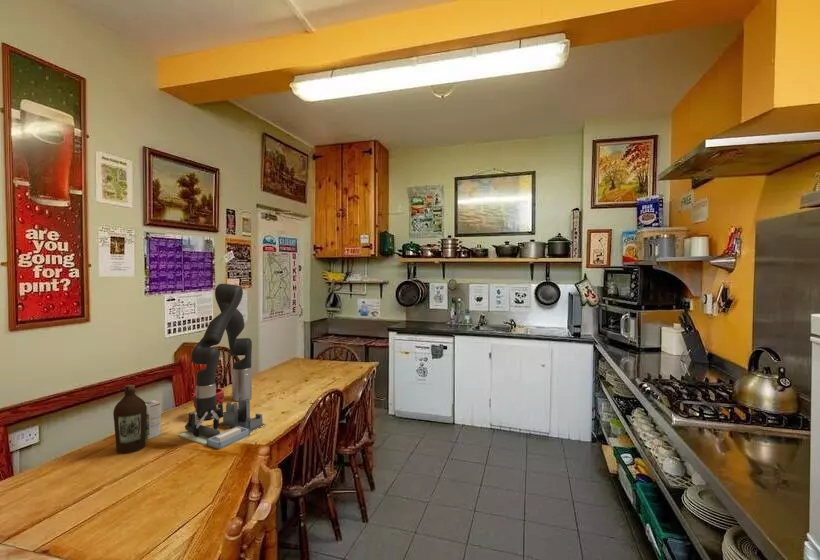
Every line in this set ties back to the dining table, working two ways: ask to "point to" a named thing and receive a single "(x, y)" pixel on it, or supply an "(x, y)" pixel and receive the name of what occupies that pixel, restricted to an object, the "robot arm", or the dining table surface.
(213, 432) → the dark grey cylinder
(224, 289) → the robot arm
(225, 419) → the clamp rack
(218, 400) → the plant pot
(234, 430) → the bar
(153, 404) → the syrup box
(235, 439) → the tray
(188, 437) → the mat
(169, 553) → the dining table surface
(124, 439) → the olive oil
